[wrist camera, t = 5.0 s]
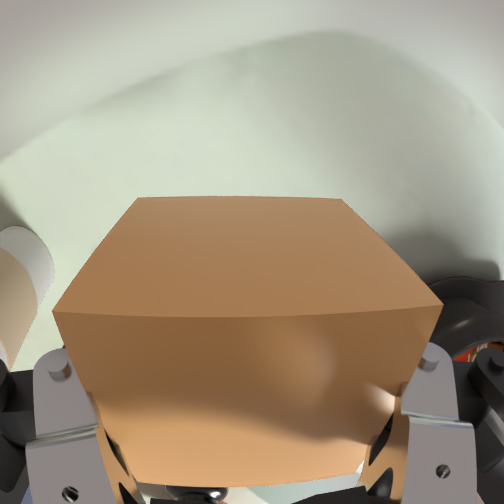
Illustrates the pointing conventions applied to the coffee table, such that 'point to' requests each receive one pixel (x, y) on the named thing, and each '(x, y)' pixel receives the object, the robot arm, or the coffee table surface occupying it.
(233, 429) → the peach cube
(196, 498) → the supplement bottle
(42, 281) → the coffee cup
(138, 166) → the coffee table surface
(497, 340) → the casserole
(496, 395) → the robot arm
